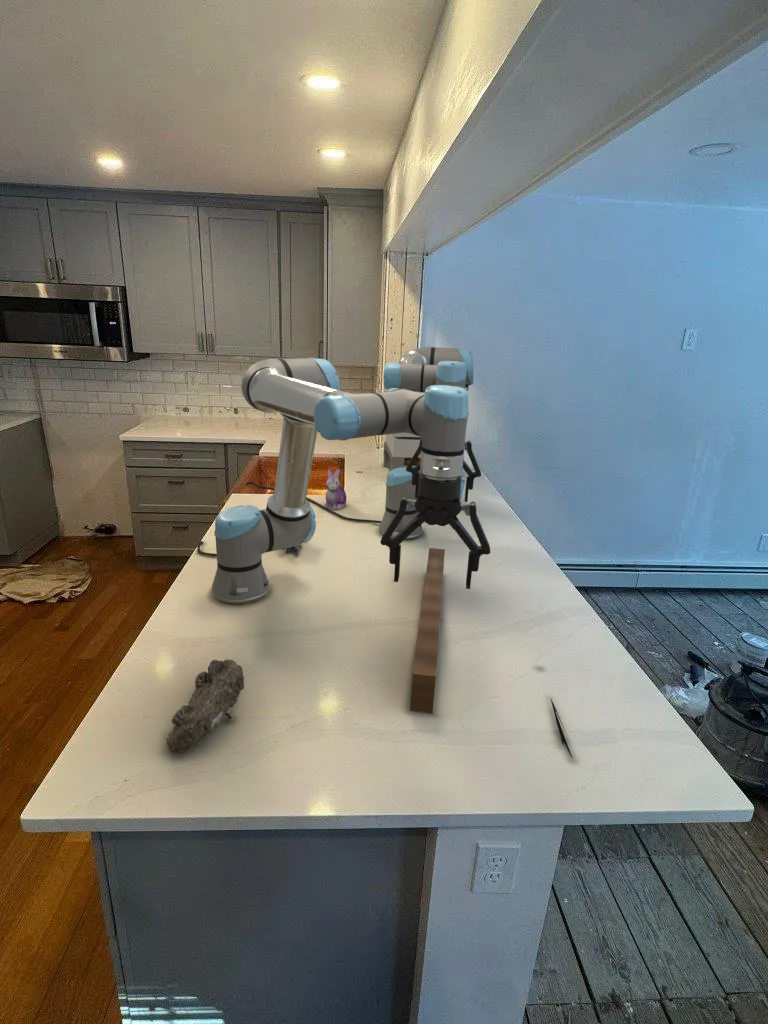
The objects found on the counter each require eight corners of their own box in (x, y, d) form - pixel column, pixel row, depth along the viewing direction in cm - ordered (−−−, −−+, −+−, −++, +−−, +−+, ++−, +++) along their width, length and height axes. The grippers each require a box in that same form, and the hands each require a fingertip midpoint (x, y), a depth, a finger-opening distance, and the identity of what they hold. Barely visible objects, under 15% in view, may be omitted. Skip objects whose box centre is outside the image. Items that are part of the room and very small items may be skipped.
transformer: (382, 463, 289) (386, 382, 275) (445, 464, 293) (451, 384, 279) (390, 482, 257) (394, 392, 243) (460, 483, 261) (468, 394, 247)
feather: (540, 672, 128) (545, 666, 127) (572, 762, 101) (579, 755, 101) (533, 668, 128) (539, 662, 127) (564, 758, 101) (571, 750, 100)
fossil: (192, 660, 117) (244, 628, 112) (224, 691, 120) (276, 661, 115) (142, 746, 98) (202, 712, 93) (182, 779, 101) (242, 748, 96)
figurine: (329, 511, 218) (329, 474, 213) (319, 503, 226) (319, 467, 221) (351, 508, 222) (352, 471, 217) (341, 500, 230) (342, 465, 225)
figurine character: (301, 560, 179) (306, 537, 192) (301, 539, 175) (306, 517, 189) (280, 559, 178) (286, 536, 192) (279, 538, 175) (286, 516, 188)
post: (427, 574, 170) (429, 547, 167) (442, 575, 170) (444, 549, 167) (409, 710, 112) (412, 673, 109) (432, 713, 112) (435, 676, 109)
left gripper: (368, 475, 99) (364, 584, 106) (513, 486, 96) (499, 598, 103) (374, 464, 106) (370, 567, 113) (510, 474, 103) (497, 579, 110)
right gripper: (398, 421, 147) (394, 498, 154) (496, 427, 144) (487, 506, 151) (401, 416, 154) (397, 490, 161) (494, 422, 151) (486, 497, 158)
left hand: (432, 582), depth 108 cm, fingers open, 13 cm apart
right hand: (441, 498), depth 156 cm, fingers open, 13 cm apart
